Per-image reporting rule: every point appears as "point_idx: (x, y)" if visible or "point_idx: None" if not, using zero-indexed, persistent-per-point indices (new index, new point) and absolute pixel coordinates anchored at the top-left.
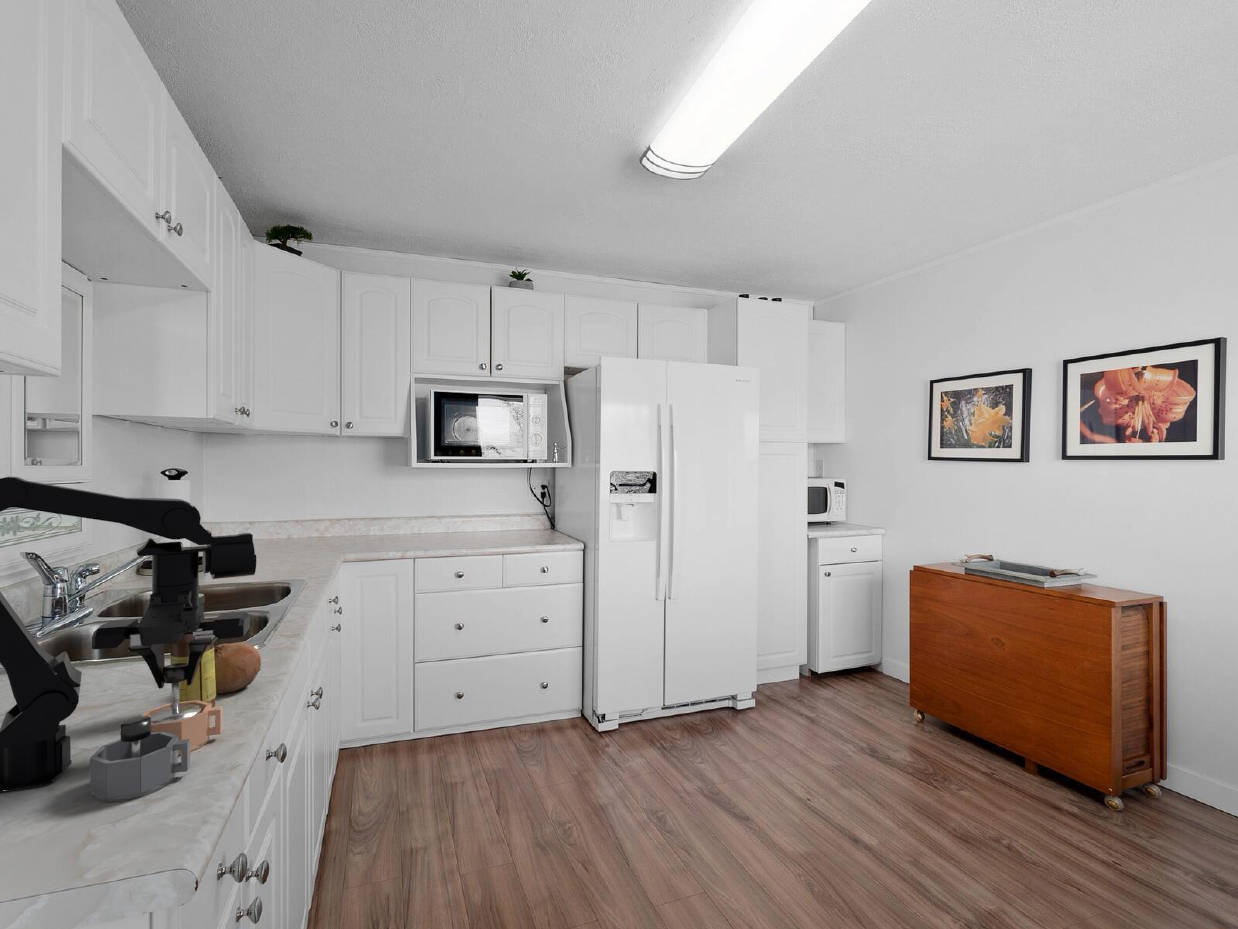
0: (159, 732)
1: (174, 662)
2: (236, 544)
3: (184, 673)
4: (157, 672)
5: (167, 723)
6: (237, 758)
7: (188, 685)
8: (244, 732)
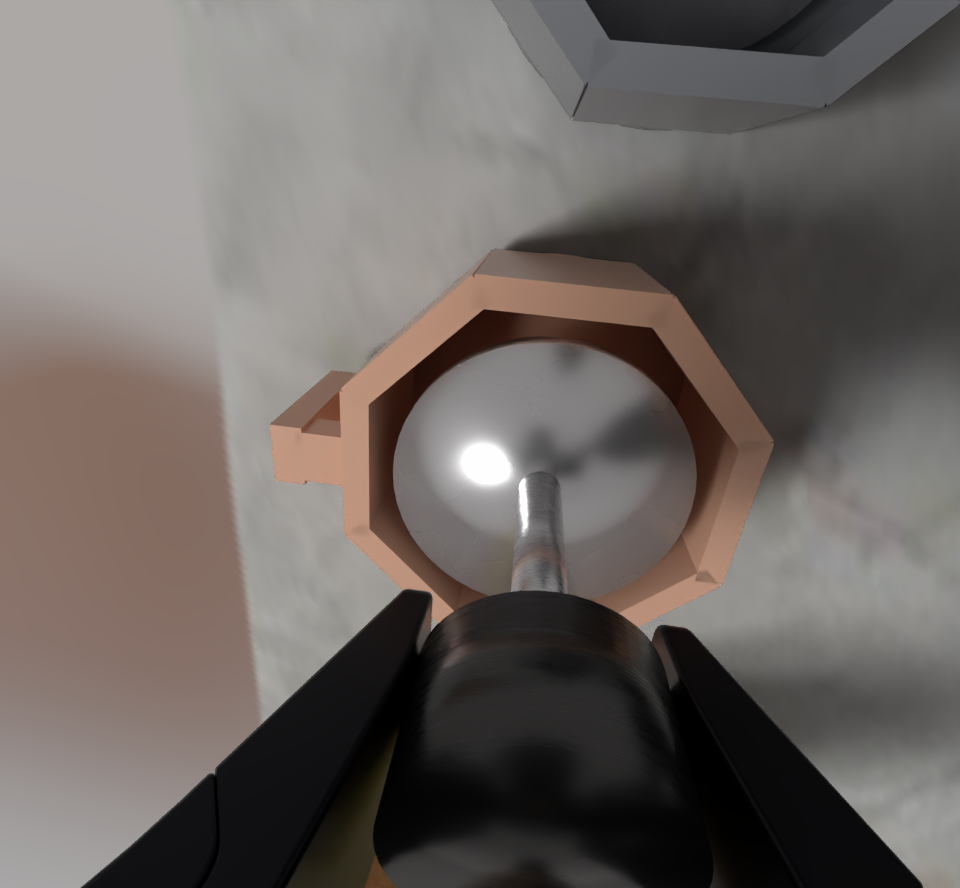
0: (606, 64)
1: None
2: None
3: (422, 696)
4: (772, 798)
5: (566, 282)
6: (191, 56)
7: (422, 593)
8: (260, 416)
